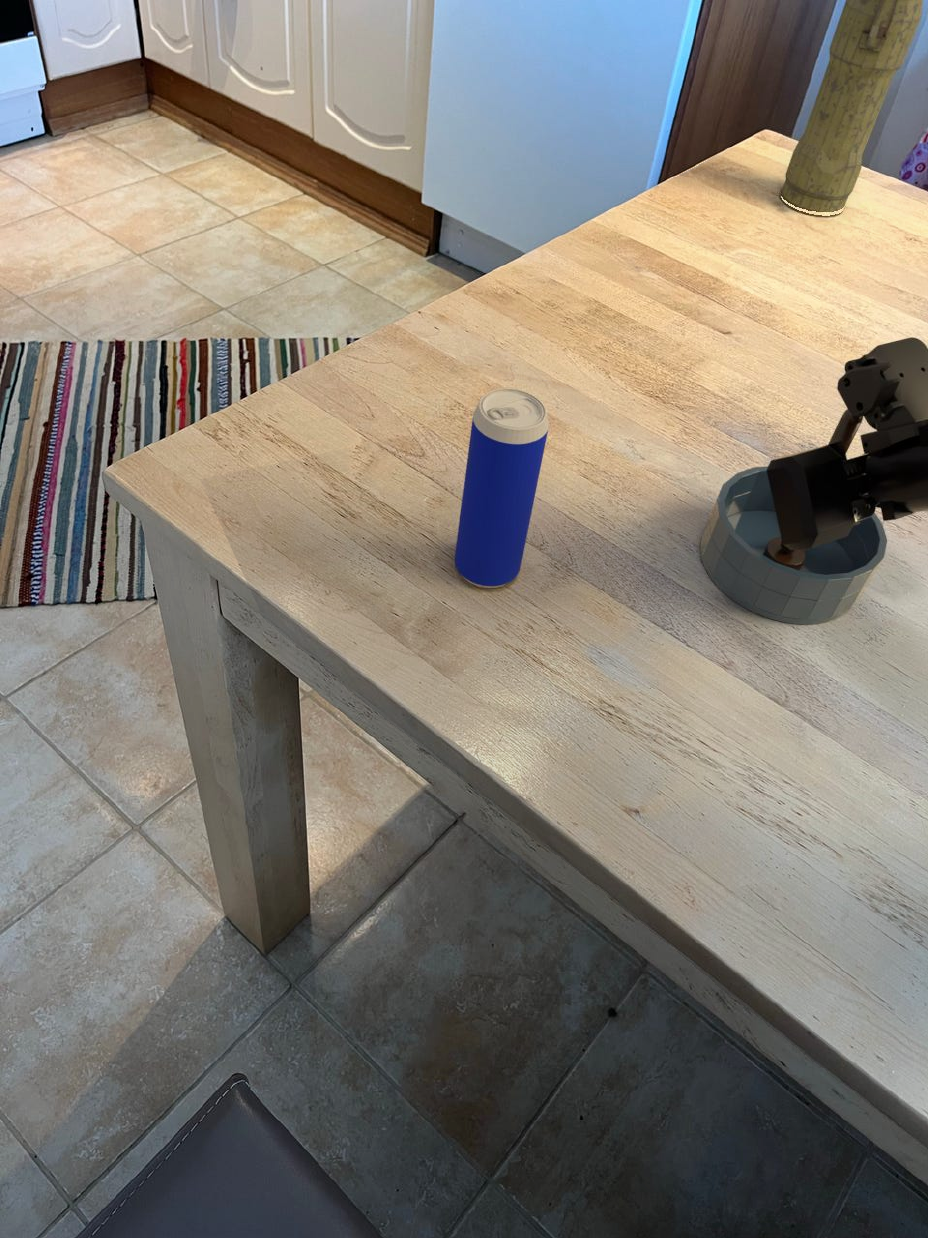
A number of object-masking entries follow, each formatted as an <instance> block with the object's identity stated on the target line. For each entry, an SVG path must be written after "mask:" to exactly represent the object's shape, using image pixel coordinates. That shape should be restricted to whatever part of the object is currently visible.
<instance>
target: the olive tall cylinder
mask: <svg viewBox="0 0 928 1238" xmlns="http://www.w3.org/2000/svg"><path fill="white" fill-rule="evenodd" d="M923 4H924V0H845V1H844V5H843V8H842V11H841V13H840V16H839V20H838V22H837V25H836V28H835V31H834V33H833V34H834V35H833V37H832V39H831V42H830V45H829V49H828V50H829V60H828V63H827V66H826V69H825V72H824V75H823V77H822V80H821V83H820V86H819V89H818V92H817V95H816V98H815V101H814V103H813V107H812V110H811V112H810V115H809V117H808V121H807V124H806V127H805V130H804V131H803V135H802V136H801V137H800V139H799V140H798V142H797V144H796V146H795V148H794V149H793V151H792V154H791V157H790V160H789V163H788V166H787V169H786V171H785V175H784V176H785V177H784V178H785V180H784V182H783V186H782V188H781V190H780V192H781V196H782V197H783V199H784V200H786V201H787V202H788V203H790V204H792V205H794V206H795V207H799V208H802V209H806V210H808V211H816V212H834V211H838V210H840V209H842V208H843V207H844V206H845V207H846V203H847V201H848V198H849V196H851V194H852V193H853V191H854V188H855V186H856V183H857V181H858V178H859V176H860V174H861V171H862V166H863V165H862V164H863V154H864V151H865V149H866V147H867V144H868V142H869V139H870V136H871V134H872V132H873V129H874V126H875V125H876V122H877V119H878V116H879V114H880V112H881V109H882V106H883V104H884V101H885V99H886V97H887V93H888V91H889V88H890V86H891V83H892V81H893V78H894V76H895V74H896V73H897V72H898V71H899V70H900V68H901V67H902V66H903V64H904V61H905V59H906V57H907V54H908V53H909V49H910V47H911V44H912V42H913V39H914V37H915V34H916V32H917V29H918V27H919V24H920V22H921V19H922V13H923ZM779 200H780V201H781V202H782V204H784V205H785V206H786V207H788V208H790V209H792V210H794V211H795V212H797V213H800V214H804V215H806V216H812V217H817V218H833V217H837V216H840V215H842V213H843V212H844V210H843V211H842V212H841V213H839V214H837V215H830V216H822V215H814V214H809V213H806V212H803V211H799V210H797V209H795V208H793V207H791V206H789V205H788V204H786V203H785V202H784V201H783V200H782V198H781V197H780V196H779Z"/></svg>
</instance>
